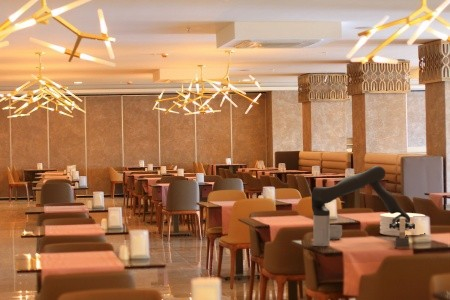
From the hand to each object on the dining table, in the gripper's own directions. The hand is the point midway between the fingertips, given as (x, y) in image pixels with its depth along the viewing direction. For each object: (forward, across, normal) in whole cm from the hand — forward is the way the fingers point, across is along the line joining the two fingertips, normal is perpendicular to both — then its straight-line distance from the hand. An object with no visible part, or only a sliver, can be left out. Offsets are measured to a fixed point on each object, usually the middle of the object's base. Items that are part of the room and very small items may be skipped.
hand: (402, 227), depth 506 cm
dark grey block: (-2, 0, +12) cm, 12 cm away
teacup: (-32, -40, +12) cm, 52 cm away
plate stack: (-65, +2, +12) cm, 66 cm away
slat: (-2, 0, +10) cm, 10 cm away
